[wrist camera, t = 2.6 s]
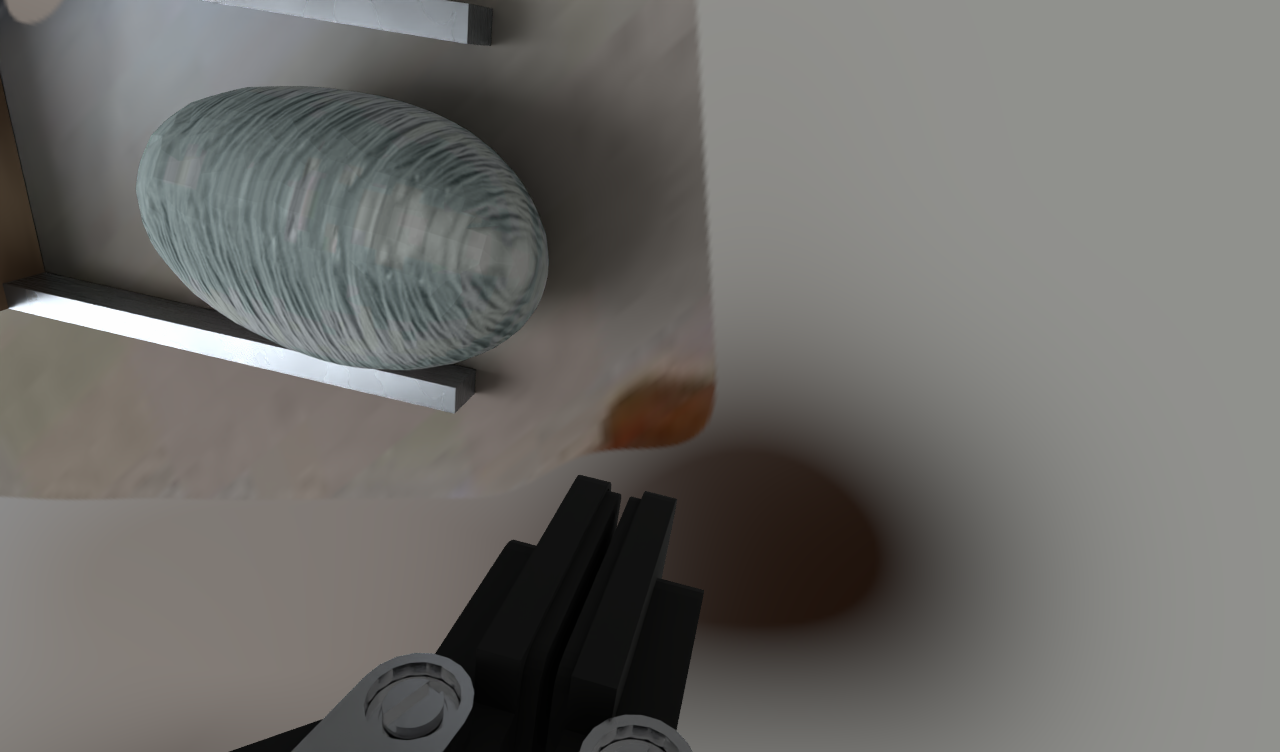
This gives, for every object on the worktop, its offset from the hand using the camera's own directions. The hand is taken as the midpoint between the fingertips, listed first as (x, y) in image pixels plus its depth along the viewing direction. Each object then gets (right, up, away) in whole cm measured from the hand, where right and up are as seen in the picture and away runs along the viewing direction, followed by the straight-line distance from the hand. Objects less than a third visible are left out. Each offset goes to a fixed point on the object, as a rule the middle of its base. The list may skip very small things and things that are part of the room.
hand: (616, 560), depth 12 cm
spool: (-9, +10, +17) cm, 22 cm away
